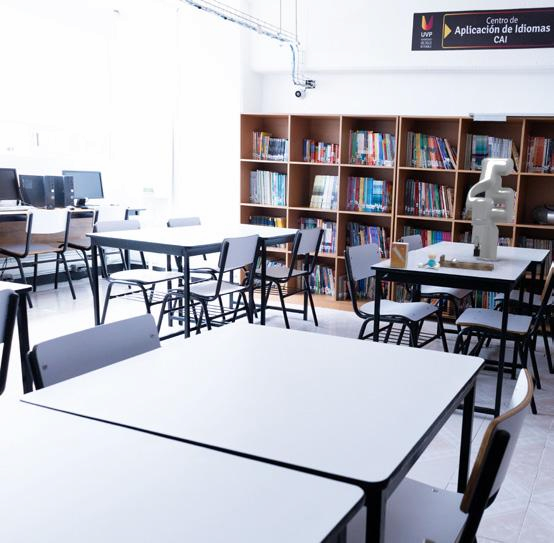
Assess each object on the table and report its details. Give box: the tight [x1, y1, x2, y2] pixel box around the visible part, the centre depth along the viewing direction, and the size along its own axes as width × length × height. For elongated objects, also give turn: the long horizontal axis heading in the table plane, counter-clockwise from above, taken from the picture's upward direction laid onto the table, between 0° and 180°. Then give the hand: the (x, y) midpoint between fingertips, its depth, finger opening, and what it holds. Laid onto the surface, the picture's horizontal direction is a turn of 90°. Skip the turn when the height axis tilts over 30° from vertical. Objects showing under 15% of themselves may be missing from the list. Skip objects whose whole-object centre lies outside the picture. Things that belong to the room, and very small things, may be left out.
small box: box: [389, 241, 410, 269], centre depth 348 cm, size 8×6×13 cm
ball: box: [449, 258, 459, 263], centre depth 358 cm, size 4×4×4 cm
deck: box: [437, 254, 495, 272], centre depth 355 cm, size 28×10×6 cm, turn 68°
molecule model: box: [417, 252, 441, 271], centre depth 349 cm, size 12×12×9 cm
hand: (476, 256), depth 354 cm, fingers closed
